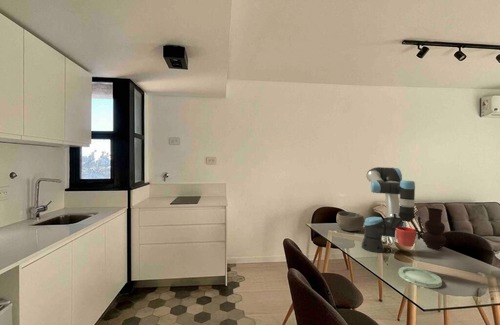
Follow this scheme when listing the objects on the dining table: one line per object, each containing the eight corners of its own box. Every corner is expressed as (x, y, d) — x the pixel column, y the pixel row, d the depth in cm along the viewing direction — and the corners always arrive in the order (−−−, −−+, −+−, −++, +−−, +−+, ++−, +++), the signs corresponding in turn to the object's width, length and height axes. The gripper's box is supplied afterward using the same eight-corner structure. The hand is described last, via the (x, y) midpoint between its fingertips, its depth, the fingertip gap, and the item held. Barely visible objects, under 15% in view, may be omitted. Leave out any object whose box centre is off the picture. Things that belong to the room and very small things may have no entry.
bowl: (333, 225, 241) (334, 210, 240) (359, 226, 237) (359, 211, 237) (339, 232, 217) (339, 216, 216) (367, 234, 213) (368, 217, 213)
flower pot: (419, 248, 140) (420, 231, 140) (399, 246, 142) (399, 230, 142) (412, 243, 150) (412, 227, 150) (392, 241, 153) (393, 225, 153)
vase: (438, 253, 174) (440, 212, 173) (416, 245, 188) (418, 207, 187) (451, 250, 180) (452, 210, 180) (429, 243, 194) (430, 206, 194)
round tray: (398, 281, 133) (399, 277, 133) (398, 267, 150) (398, 263, 150) (445, 292, 123) (445, 288, 123) (438, 275, 140) (438, 272, 140)
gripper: (385, 204, 149) (384, 240, 149) (430, 209, 137) (429, 248, 137) (385, 203, 156) (384, 237, 155) (429, 207, 144) (428, 244, 143)
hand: (405, 242), depth 146 cm, fingers closed on flower pot, 10 cm apart
